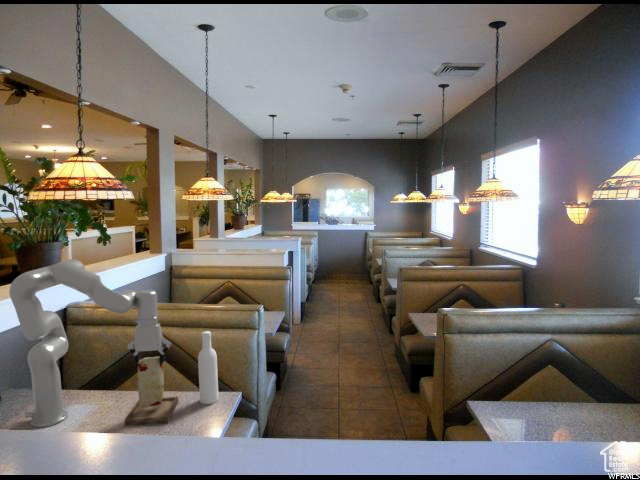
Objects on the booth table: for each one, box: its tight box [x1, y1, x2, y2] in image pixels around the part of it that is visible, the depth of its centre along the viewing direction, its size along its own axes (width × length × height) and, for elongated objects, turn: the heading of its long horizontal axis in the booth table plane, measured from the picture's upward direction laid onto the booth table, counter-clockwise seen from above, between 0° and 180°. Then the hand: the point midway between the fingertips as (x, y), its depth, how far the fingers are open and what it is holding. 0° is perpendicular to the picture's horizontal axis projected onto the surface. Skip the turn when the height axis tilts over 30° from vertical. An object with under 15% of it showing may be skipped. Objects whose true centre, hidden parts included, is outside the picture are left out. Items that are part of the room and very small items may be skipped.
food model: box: [137, 356, 165, 407], centre depth 177 cm, size 10×7×20 cm
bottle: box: [197, 330, 220, 405], centre depth 188 cm, size 8×8×30 cm
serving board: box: [124, 396, 179, 427], centre depth 178 cm, size 16×18×2 cm
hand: (150, 363), depth 176 cm, fingers closed on food model, 8 cm apart
